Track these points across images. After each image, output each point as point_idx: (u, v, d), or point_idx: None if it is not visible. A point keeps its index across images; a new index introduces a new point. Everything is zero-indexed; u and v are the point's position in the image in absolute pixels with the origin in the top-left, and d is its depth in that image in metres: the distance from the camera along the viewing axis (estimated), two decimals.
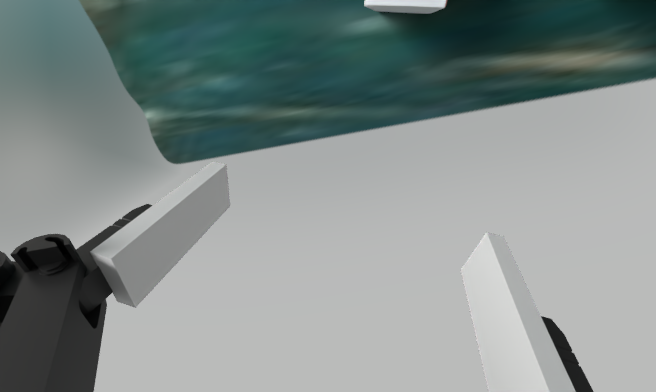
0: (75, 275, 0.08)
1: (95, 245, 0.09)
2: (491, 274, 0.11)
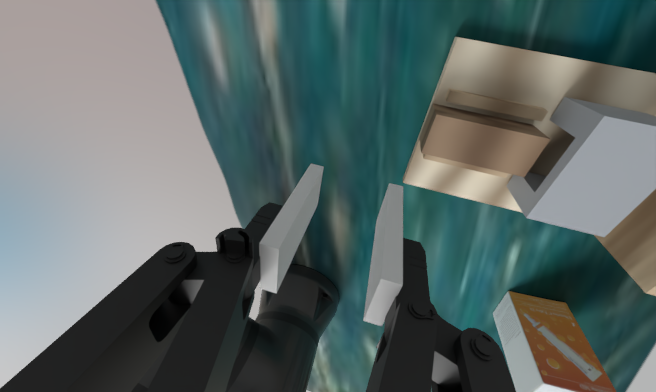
0: (247, 270, 0.09)
1: None
2: (383, 213, 0.13)
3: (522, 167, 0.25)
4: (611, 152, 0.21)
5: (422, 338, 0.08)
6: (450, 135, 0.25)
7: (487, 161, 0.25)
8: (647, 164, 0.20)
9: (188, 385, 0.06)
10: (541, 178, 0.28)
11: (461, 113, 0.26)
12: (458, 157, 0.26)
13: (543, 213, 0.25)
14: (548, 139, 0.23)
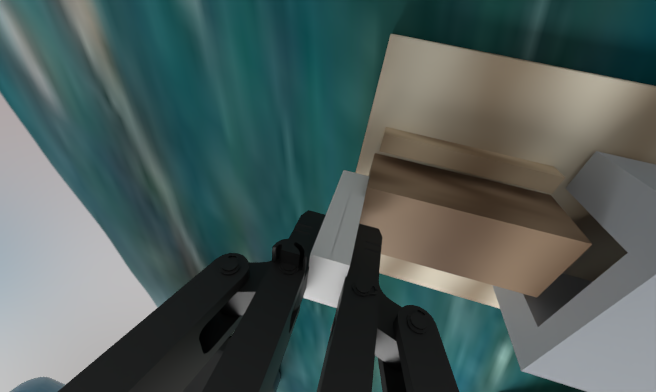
0: (299, 285, 0.08)
1: None
2: None
3: (533, 283, 0.13)
4: None
5: (365, 314, 0.08)
6: (398, 223, 0.13)
7: (468, 268, 0.14)
8: None
9: None
10: None
11: (421, 177, 0.14)
12: (415, 257, 0.14)
13: (554, 370, 0.13)
14: (588, 244, 0.11)
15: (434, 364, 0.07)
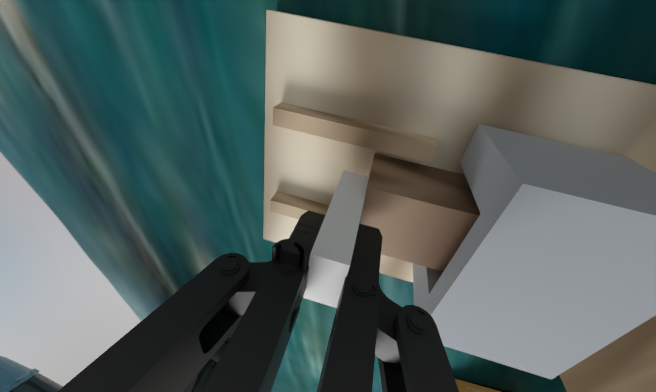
0: (299, 284, 0.08)
1: None
2: None
3: None
4: (547, 253, 0.10)
5: (365, 314, 0.08)
6: (398, 223, 0.13)
7: None
8: (623, 281, 0.09)
9: None
10: None
11: (421, 177, 0.14)
12: (415, 257, 0.14)
13: (441, 334, 0.14)
14: None
15: (434, 364, 0.07)
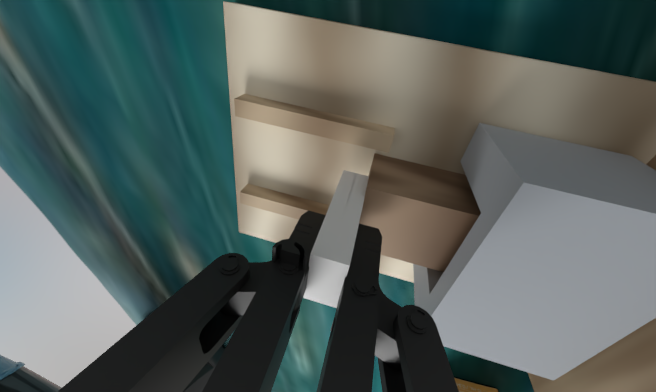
0: (299, 285, 0.08)
1: None
2: None
3: None
4: (548, 253, 0.09)
5: (365, 314, 0.08)
6: (398, 223, 0.13)
7: None
8: (626, 281, 0.09)
9: None
10: None
11: (420, 177, 0.14)
12: (415, 258, 0.14)
13: (442, 335, 0.13)
14: None
15: (434, 364, 0.07)
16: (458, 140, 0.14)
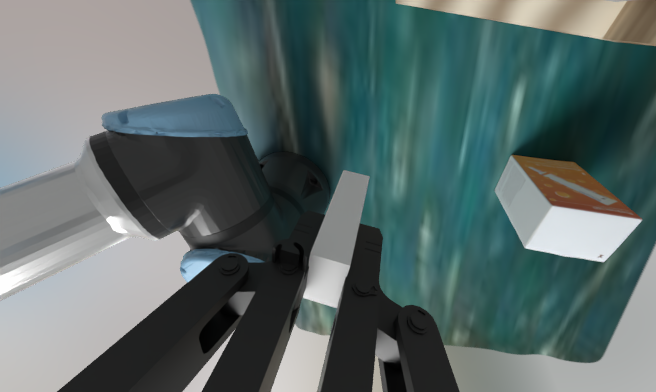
0: (299, 284, 0.08)
1: None
2: None
3: None
4: None
5: (366, 314, 0.08)
6: None
7: None
8: None
9: None
10: None
11: None
12: None
13: None
14: None
15: (434, 364, 0.07)
16: None
